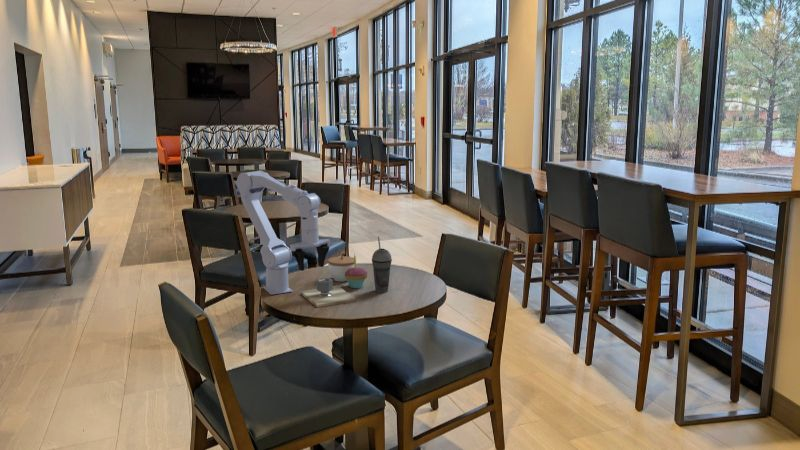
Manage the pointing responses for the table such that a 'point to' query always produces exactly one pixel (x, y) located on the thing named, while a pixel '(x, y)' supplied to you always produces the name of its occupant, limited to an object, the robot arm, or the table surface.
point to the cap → (324, 284)
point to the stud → (324, 294)
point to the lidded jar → (340, 267)
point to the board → (336, 297)
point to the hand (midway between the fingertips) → (311, 268)
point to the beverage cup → (381, 269)
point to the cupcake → (355, 276)
